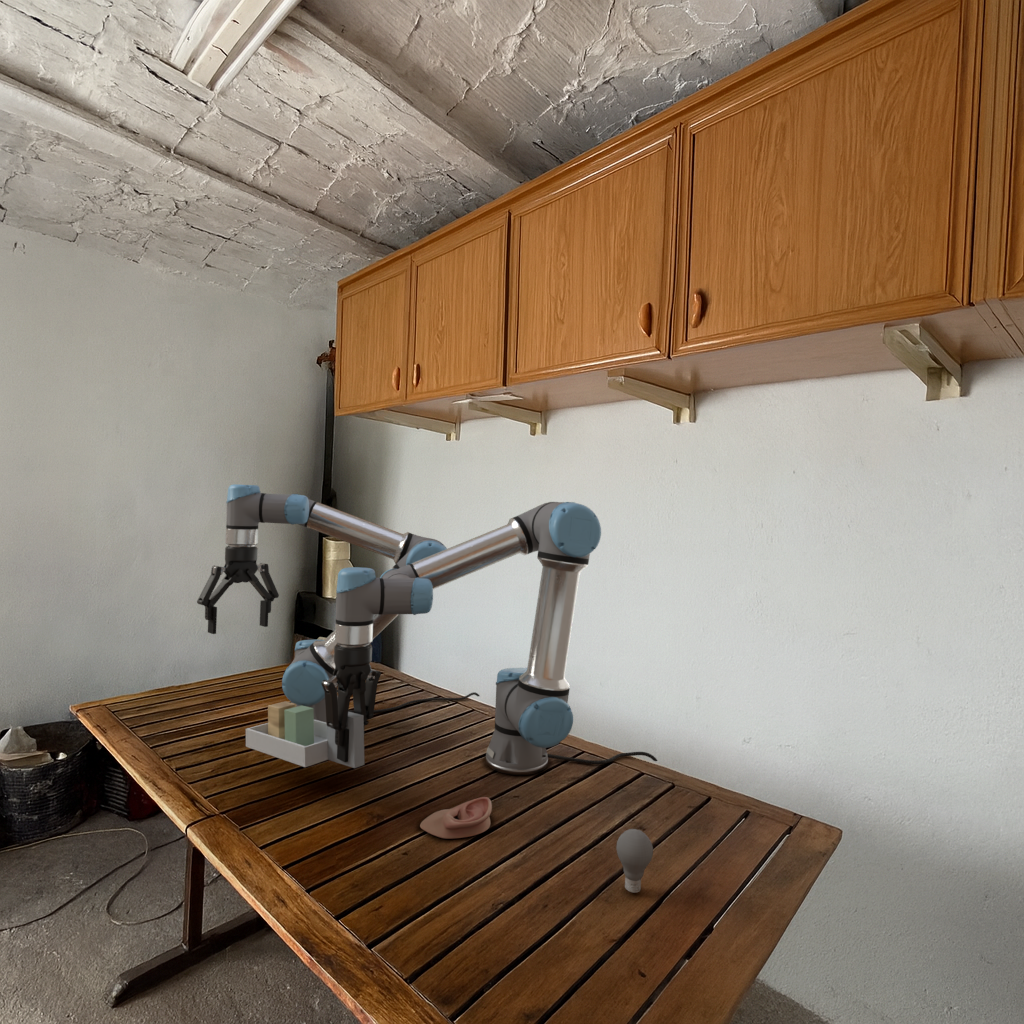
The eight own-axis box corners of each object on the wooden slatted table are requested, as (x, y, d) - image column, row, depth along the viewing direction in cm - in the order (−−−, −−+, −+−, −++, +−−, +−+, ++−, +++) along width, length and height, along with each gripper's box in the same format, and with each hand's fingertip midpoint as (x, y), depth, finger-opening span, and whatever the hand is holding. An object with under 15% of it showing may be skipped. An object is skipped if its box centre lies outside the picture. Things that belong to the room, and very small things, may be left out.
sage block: (302, 740, 144) (302, 705, 144) (314, 744, 141) (313, 708, 142) (284, 746, 140) (284, 709, 141) (296, 750, 138) (295, 712, 138)
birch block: (286, 735, 148) (285, 701, 149) (296, 739, 145) (296, 703, 146) (268, 740, 145) (267, 705, 145) (279, 744, 142) (278, 708, 142)
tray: (245, 746, 143) (245, 701, 143) (297, 731, 153) (297, 689, 153) (331, 776, 123) (331, 724, 123) (385, 757, 133) (384, 709, 133)
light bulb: (610, 879, 108) (613, 822, 108) (644, 879, 109) (647, 822, 109) (619, 902, 102) (622, 840, 102) (655, 901, 103) (658, 840, 103)
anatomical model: (414, 813, 120) (434, 787, 131) (414, 834, 120) (433, 806, 131) (482, 823, 117) (496, 795, 129) (481, 844, 118) (495, 815, 129)
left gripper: (278, 543, 172) (275, 621, 172) (183, 545, 152) (180, 633, 153) (294, 545, 167) (291, 625, 167) (198, 548, 148) (195, 639, 148)
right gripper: (372, 635, 138) (367, 742, 138) (309, 646, 126) (305, 763, 126) (395, 641, 133) (390, 752, 134) (332, 653, 121) (327, 775, 121)
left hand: (238, 629), depth 160 cm, fingers open, 13 cm apart
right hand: (349, 757), depth 130 cm, fingers closed on tray, 2 cm apart
